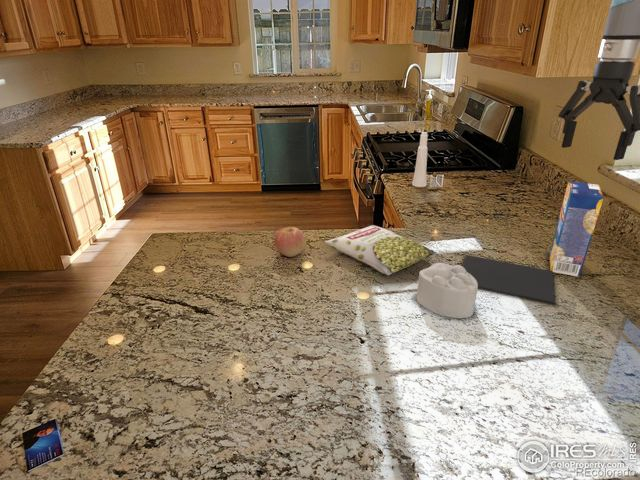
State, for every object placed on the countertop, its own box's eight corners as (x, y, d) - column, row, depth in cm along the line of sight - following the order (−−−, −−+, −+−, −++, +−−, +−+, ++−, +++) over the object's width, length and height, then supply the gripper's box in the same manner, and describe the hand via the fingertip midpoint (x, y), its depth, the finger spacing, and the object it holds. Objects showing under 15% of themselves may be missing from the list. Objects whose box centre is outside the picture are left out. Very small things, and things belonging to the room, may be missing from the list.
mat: (552, 272, 113) (552, 270, 113) (553, 304, 100) (554, 302, 100) (466, 256, 121) (466, 255, 121) (457, 283, 108) (457, 281, 108)
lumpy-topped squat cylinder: (437, 284, 108) (441, 254, 104) (483, 307, 99) (489, 275, 95) (410, 299, 102) (414, 268, 98) (457, 325, 93) (463, 291, 89)
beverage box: (576, 258, 120) (598, 184, 110) (579, 277, 111) (603, 197, 101) (549, 254, 122) (568, 181, 113) (550, 271, 113) (571, 193, 104)
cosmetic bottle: (418, 181, 183) (423, 130, 173) (429, 185, 178) (435, 132, 169) (408, 184, 179) (413, 132, 170) (420, 188, 175) (425, 134, 165)
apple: (286, 264, 118) (285, 238, 115) (269, 252, 124) (267, 227, 121) (311, 254, 123) (310, 229, 120) (293, 244, 129) (292, 220, 126)
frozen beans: (389, 265, 105) (322, 233, 122) (387, 285, 107) (322, 251, 124) (439, 243, 117) (372, 216, 134) (436, 261, 120) (371, 233, 137)
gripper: (555, 58, 105) (537, 144, 114) (666, 63, 85) (633, 167, 94) (576, 57, 108) (556, 141, 117) (687, 62, 88) (653, 162, 97)
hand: (590, 152), depth 106 cm, fingers open, 13 cm apart
